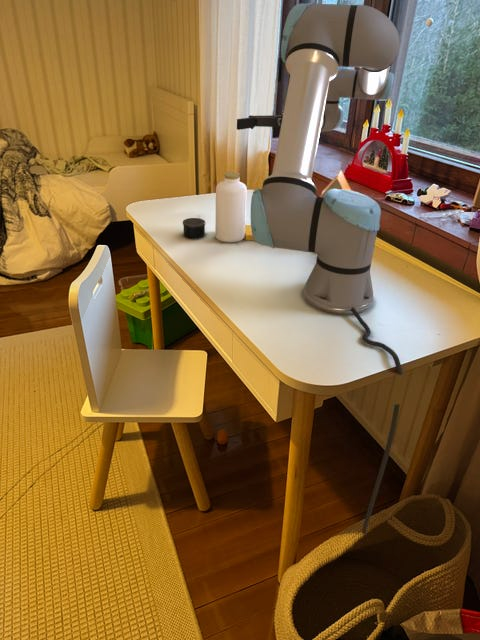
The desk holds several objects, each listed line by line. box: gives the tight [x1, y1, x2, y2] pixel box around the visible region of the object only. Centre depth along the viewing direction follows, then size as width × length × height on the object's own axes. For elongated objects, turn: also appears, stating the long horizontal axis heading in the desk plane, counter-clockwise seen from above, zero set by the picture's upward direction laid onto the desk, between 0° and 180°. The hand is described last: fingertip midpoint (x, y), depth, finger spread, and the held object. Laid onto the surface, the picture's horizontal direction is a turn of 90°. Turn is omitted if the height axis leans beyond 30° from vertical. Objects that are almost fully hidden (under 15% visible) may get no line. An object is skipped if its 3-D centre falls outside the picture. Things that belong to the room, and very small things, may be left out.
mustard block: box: [244, 224, 255, 241], centre depth 138 cm, size 8×6×2 cm
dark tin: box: [182, 217, 206, 240], centre depth 135 cm, size 6×6×4 cm
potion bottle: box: [214, 171, 248, 243], centre depth 131 cm, size 8×8×18 cm
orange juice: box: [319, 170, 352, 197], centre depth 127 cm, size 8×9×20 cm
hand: (255, 128), depth 129 cm, fingers open, 13 cm apart
